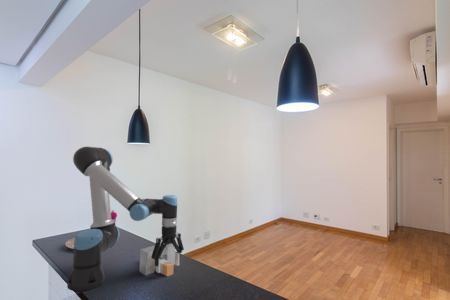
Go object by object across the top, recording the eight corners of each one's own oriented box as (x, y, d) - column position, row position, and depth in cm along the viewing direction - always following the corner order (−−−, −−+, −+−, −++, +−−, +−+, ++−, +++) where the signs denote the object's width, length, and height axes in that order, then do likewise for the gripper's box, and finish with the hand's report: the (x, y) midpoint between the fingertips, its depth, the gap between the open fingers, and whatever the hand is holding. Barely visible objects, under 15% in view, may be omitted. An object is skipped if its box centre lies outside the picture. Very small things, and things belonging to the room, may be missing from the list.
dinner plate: (119, 240, 176) (119, 235, 177) (95, 254, 149) (96, 249, 149) (83, 238, 179) (84, 233, 179) (54, 251, 152) (54, 246, 152)
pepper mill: (118, 235, 186) (119, 209, 187) (114, 238, 179) (115, 211, 180) (108, 235, 186) (110, 209, 187) (104, 238, 179) (105, 211, 180)
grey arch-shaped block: (174, 264, 137) (175, 244, 138) (145, 275, 124) (146, 252, 124) (168, 261, 141) (169, 241, 142) (139, 271, 128) (140, 249, 128)
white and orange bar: (173, 273, 126) (173, 264, 127) (166, 276, 123) (167, 266, 124) (148, 260, 142) (148, 251, 143) (142, 262, 139) (142, 253, 140)
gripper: (153, 231, 116) (151, 278, 115) (191, 222, 134) (190, 263, 133) (144, 228, 121) (143, 273, 120) (182, 220, 139) (181, 259, 138)
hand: (167, 268), depth 127 cm, fingers open, 11 cm apart
